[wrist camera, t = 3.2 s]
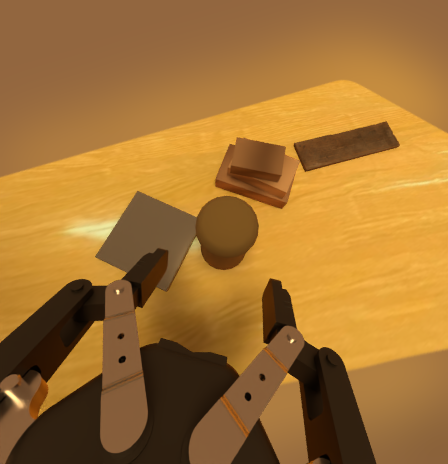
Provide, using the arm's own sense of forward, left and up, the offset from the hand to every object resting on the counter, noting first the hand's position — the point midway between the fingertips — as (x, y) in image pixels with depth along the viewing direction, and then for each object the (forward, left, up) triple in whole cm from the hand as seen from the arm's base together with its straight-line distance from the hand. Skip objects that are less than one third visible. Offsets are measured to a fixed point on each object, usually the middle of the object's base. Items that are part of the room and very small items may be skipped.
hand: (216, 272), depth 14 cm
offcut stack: (-1, +15, -9) cm, 17 cm away
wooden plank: (+10, +27, -10) cm, 30 cm away
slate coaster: (-10, +1, -9) cm, 14 cm away
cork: (-1, +4, -10) cm, 10 cm away
